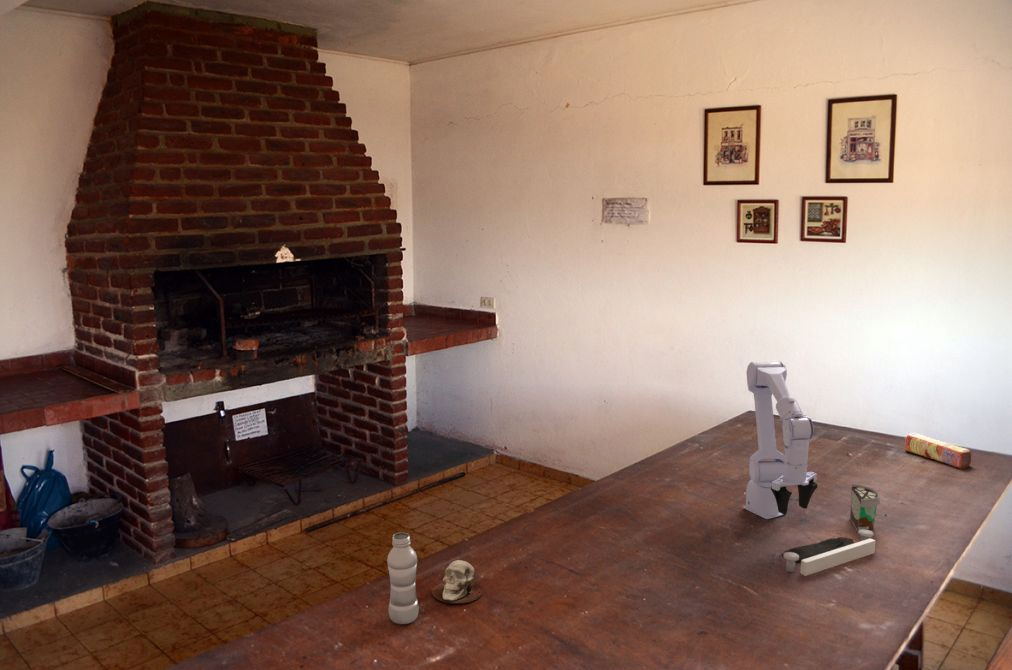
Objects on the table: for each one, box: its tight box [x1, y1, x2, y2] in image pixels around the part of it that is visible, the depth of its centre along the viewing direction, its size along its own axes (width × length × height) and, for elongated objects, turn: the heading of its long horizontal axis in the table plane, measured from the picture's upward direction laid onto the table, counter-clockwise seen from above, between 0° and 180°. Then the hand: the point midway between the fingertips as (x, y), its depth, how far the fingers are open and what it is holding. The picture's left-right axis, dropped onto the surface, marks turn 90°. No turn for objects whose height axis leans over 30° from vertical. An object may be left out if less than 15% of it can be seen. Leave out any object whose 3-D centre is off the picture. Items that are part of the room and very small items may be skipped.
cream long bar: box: [782, 529, 877, 577], centre depth 199 cm, size 6×31×4 cm, turn 117°
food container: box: [849, 483, 881, 533], centre depth 218 cm, size 12×6×10 cm, turn 168°
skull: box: [431, 559, 483, 604], centre depth 186 cm, size 12×10×10 cm
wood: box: [781, 536, 855, 564], centre depth 203 cm, size 22×7×3 cm, turn 111°
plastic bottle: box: [386, 532, 420, 625], centre depth 173 cm, size 6×7×20 cm
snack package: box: [904, 432, 972, 469], centre depth 271 cm, size 21×7×7 cm, turn 27°
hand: (792, 510), depth 210 cm, fingers open, 7 cm apart
